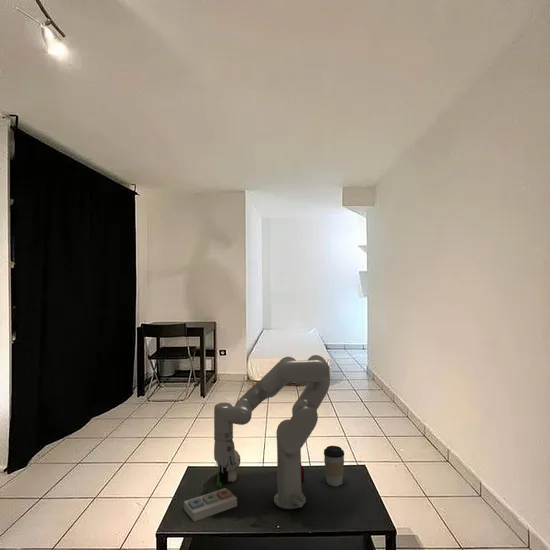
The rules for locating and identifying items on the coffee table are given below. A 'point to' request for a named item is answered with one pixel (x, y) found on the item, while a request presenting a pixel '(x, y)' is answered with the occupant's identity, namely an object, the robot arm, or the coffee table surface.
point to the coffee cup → (334, 465)
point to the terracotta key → (224, 494)
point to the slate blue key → (195, 503)
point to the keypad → (210, 507)
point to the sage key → (210, 498)
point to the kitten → (231, 473)
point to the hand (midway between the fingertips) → (223, 481)
